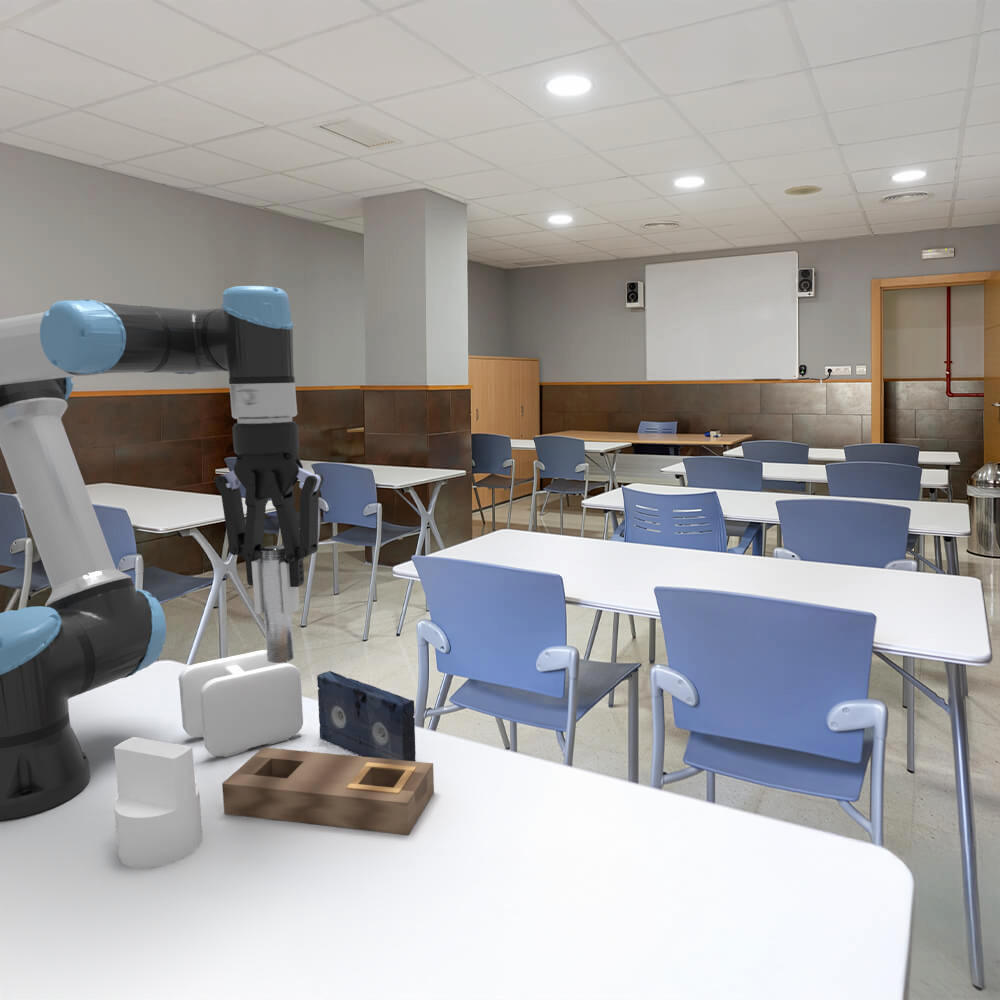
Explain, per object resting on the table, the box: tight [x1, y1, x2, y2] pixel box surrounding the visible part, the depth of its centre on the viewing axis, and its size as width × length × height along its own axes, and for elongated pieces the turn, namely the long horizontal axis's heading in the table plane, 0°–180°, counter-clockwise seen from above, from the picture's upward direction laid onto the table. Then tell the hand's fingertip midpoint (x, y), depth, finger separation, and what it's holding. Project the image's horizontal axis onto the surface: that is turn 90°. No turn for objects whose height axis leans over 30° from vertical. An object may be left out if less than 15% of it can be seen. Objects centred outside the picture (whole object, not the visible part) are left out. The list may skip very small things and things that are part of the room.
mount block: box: [221, 747, 435, 836], centre depth 102 cm, size 24×10×4 cm, turn 77°
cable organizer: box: [178, 649, 304, 758], centre depth 121 cm, size 15×11×12 cm
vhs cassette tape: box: [316, 670, 417, 762], centre depth 115 cm, size 18×3×10 cm, turn 49°
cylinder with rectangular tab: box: [113, 736, 203, 869], centre depth 93 cm, size 9×9×12 cm
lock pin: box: [260, 545, 295, 664], centre depth 100 cm, size 3×3×14 cm
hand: (277, 611), depth 100 cm, fingers closed on lock pin, 3 cm apart
